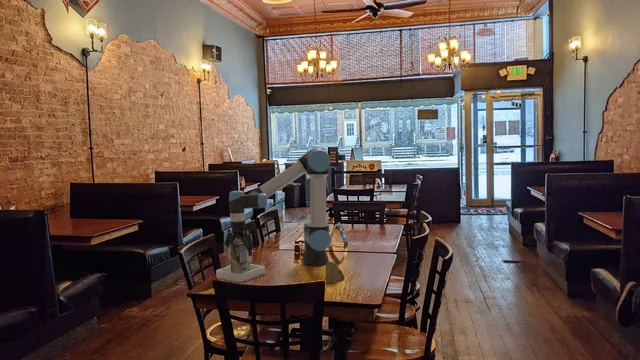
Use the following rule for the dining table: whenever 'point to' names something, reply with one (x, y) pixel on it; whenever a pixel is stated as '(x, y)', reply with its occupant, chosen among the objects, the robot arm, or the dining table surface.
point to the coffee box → (238, 258)
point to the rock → (333, 273)
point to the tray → (227, 275)
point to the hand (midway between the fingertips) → (240, 260)
